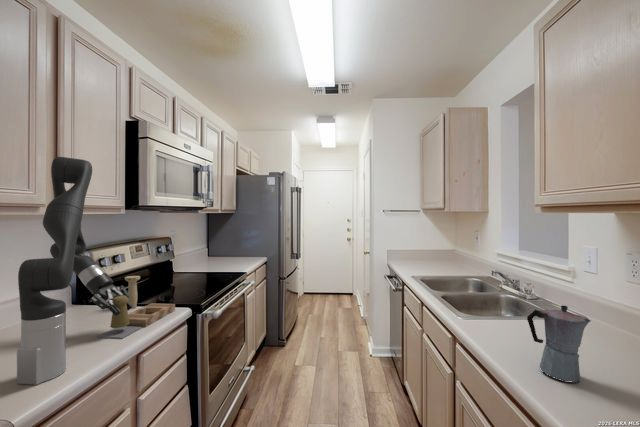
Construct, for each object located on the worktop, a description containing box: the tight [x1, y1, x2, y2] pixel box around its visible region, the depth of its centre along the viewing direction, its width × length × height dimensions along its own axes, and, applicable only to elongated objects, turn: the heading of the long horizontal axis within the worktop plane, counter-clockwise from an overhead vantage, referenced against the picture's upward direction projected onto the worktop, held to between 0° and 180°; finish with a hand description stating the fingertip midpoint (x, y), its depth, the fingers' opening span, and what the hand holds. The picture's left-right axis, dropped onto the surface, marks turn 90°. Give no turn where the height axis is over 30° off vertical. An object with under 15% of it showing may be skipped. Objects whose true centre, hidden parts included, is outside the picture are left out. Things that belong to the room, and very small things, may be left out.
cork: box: [110, 295, 129, 329], centre depth 111 cm, size 6×6×11 cm
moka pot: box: [526, 305, 592, 382], centre depth 82 cm, size 10×15×20 cm, turn 81°
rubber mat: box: [96, 326, 143, 340], centre depth 111 cm, size 10×10×1 cm
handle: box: [124, 275, 141, 309], centre depth 140 cm, size 5×6×15 cm
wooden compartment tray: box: [127, 302, 176, 328], centre depth 127 cm, size 20×12×3 cm, turn 175°
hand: (124, 311), depth 111 cm, fingers closed on cork, 5 cm apart
